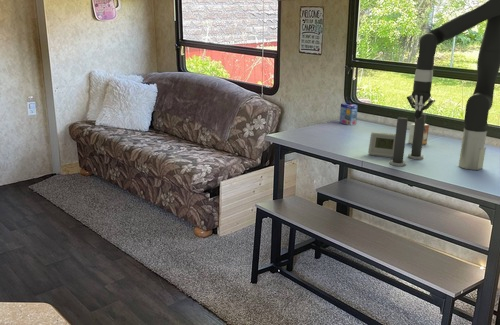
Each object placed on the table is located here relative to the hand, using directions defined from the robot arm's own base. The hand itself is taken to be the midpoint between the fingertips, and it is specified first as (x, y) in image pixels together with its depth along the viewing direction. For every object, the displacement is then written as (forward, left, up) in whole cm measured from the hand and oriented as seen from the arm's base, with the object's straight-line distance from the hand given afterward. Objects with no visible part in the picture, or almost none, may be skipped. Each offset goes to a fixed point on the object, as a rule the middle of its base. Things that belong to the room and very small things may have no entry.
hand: (418, 118), depth 222 cm
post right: (+3, -8, -20) cm, 22 cm away
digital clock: (+14, 0, -21) cm, 25 cm away
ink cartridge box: (+70, -49, -21) cm, 88 cm away
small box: (+16, -35, -21) cm, 44 cm away
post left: (+3, +9, -20) cm, 22 cm away
